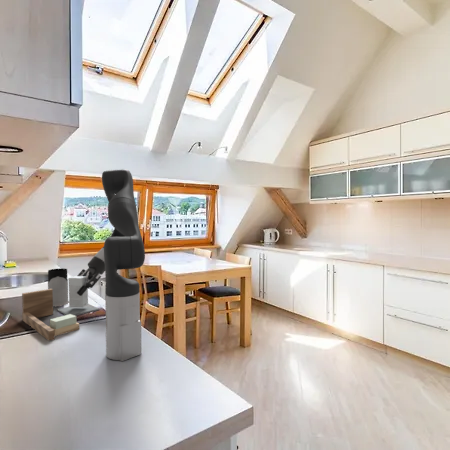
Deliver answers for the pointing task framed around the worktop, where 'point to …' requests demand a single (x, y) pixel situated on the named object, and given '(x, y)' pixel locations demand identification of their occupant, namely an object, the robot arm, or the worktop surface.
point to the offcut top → (63, 321)
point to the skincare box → (74, 286)
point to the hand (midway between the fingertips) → (74, 292)
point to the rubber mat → (77, 310)
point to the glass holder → (58, 286)
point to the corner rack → (38, 311)
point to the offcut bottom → (66, 329)
